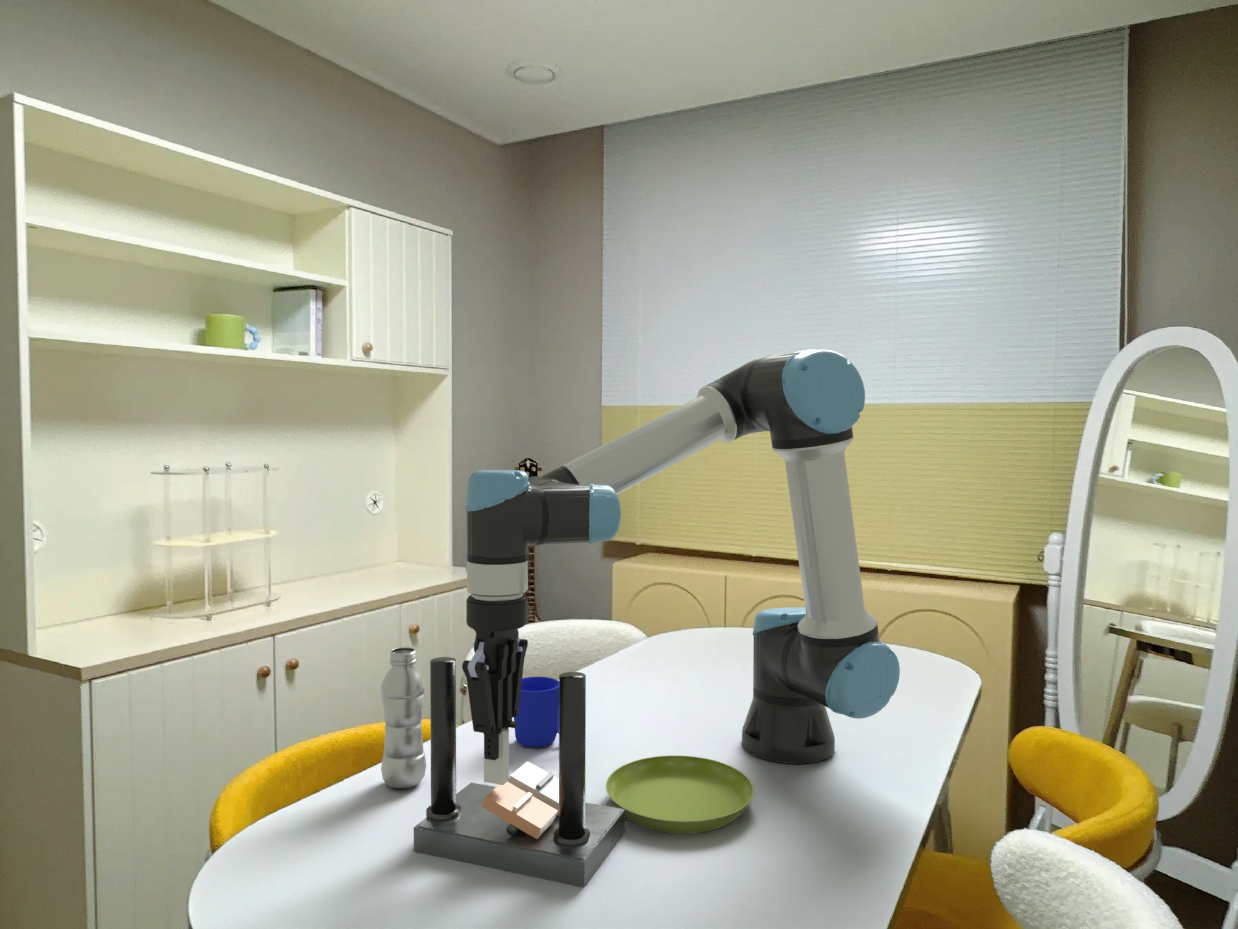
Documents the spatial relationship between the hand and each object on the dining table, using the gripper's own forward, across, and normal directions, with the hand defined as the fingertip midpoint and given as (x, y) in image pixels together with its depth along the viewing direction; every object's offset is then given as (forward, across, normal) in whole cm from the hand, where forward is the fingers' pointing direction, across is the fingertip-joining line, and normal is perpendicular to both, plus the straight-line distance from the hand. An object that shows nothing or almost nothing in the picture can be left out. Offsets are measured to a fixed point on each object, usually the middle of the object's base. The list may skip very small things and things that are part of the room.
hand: (496, 781), depth 104 cm
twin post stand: (+9, -3, +2) cm, 9 cm away
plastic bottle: (+9, -12, -22) cm, 26 cm away
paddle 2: (+3, 0, +3) cm, 4 cm away
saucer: (+9, -20, +18) cm, 28 cm away
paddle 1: (+3, -7, +3) cm, 8 cm away
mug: (+9, -34, -9) cm, 36 cm away
